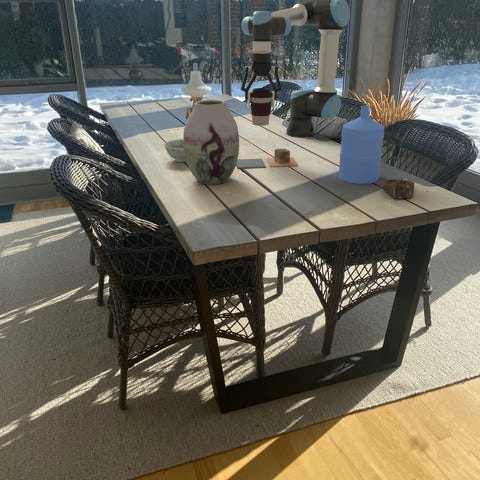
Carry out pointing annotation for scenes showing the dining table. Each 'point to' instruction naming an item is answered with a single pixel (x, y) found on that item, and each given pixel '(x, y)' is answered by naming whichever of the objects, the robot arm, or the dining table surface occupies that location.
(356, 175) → the water jug
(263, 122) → the coffee cup
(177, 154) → the bowl
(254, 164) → the slate tile
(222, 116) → the vase
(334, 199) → the dining table surface
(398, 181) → the rock
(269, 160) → the terracotta tile
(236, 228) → the dining table surface
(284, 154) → the walnut block
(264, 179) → the dining table surface
